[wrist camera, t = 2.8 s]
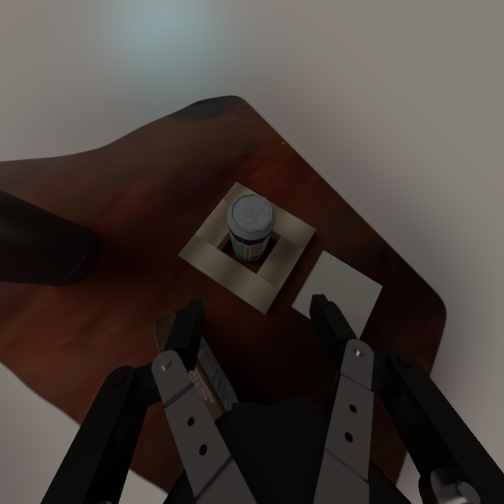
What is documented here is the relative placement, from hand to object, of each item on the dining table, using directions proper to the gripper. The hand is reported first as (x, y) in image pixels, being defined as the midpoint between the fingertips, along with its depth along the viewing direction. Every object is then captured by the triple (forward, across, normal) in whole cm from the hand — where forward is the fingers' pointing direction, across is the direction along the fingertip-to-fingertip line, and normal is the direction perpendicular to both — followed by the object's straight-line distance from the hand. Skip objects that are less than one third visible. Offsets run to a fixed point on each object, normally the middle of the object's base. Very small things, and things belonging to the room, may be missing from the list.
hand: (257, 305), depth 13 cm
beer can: (+16, 0, +4) cm, 16 cm away
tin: (+5, +6, +15) cm, 17 cm away
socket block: (+15, 0, +4) cm, 16 cm away
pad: (+10, -13, +9) cm, 19 cm away
